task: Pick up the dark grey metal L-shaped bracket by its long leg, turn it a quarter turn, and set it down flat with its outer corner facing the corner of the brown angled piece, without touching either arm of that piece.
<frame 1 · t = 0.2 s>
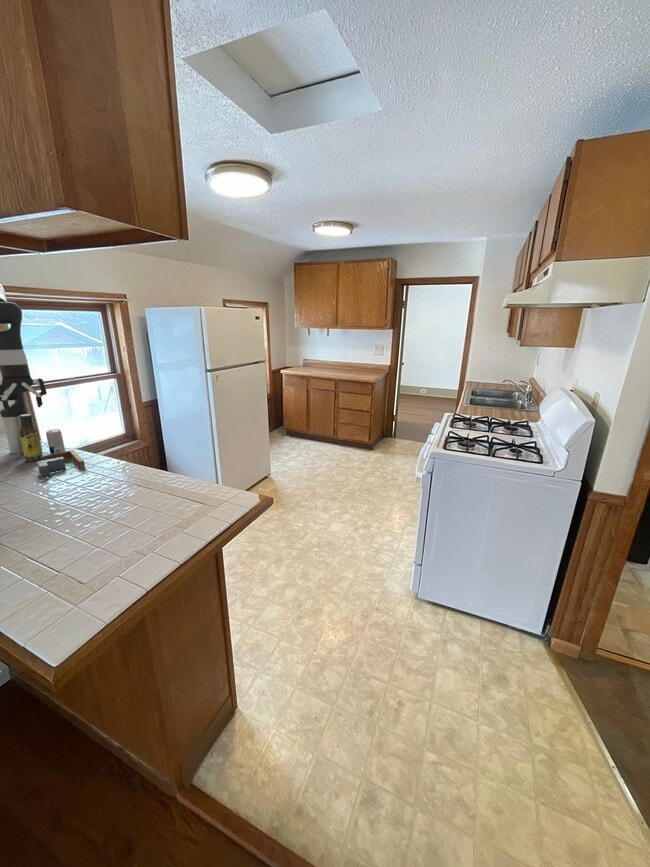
hand: (24, 408, 123), 27 cm above the counter, tool pointing down, fingers open, 8 cm apart
energy drink: (58, 456, 154), on the counter
sauce bottle: (35, 459, 151), on the counter
bracket: (43, 472, 137), on the counter
brown angled piece: (64, 467, 142), on the counter
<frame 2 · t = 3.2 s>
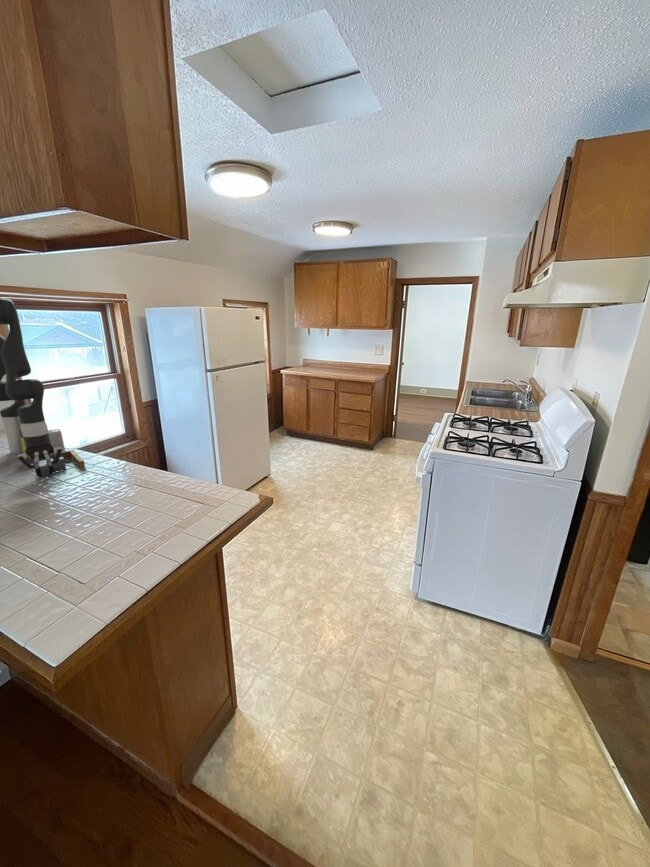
hand: (45, 475, 133), 0 cm above the counter, tool pointing down, fingers closed on bracket, 2 cm apart
bracket: (43, 472, 137), on the counter, touching gripper
everything else where it was.
when the fingers open (2 cm above the counter, at t = 8.2 s): bracket stays where it is, on the counter.
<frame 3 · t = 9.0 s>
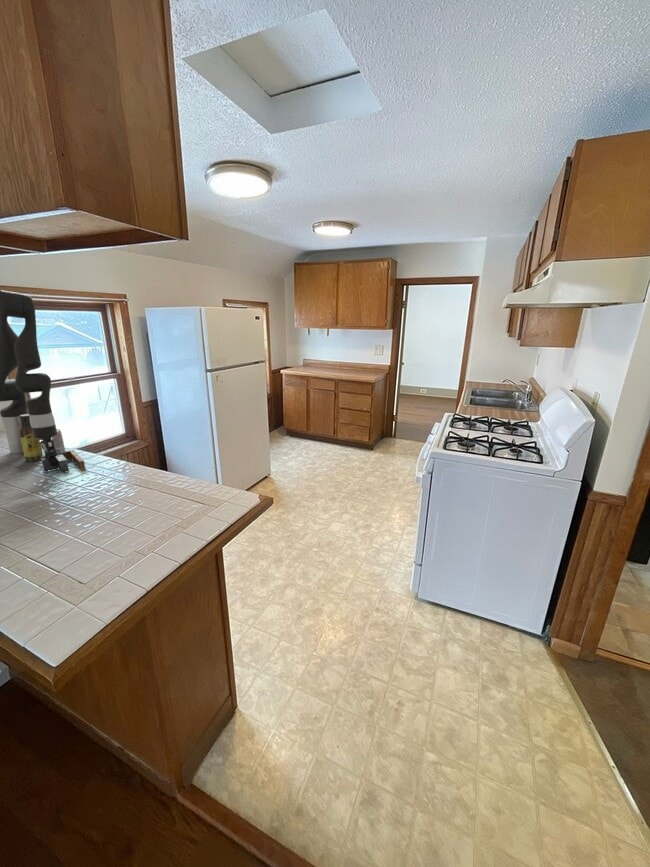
hand: (51, 462, 140), 3 cm above the counter, tool pointing down, fingers open, 8 cm apart
bracket: (65, 466, 143), on the counter
everything else where it was.
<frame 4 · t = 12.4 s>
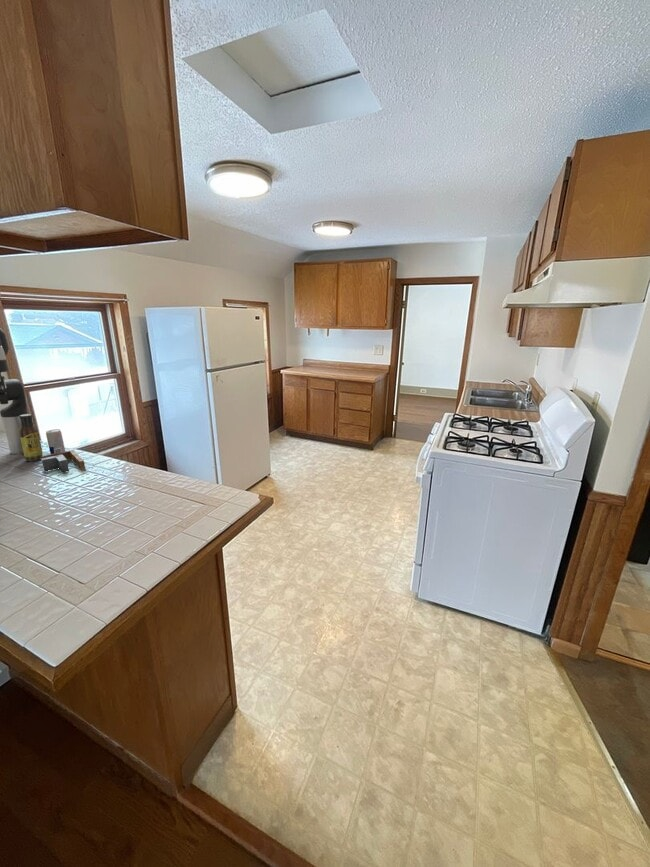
hand: (3, 402, 130), 28 cm above the counter, tool pointing down, fingers open, 8 cm apart
nothing on the counter moved.
at the end: bracket 0.8 cm from the target spot, on the counter; bracket touching counter; bracket tilted 0° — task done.
